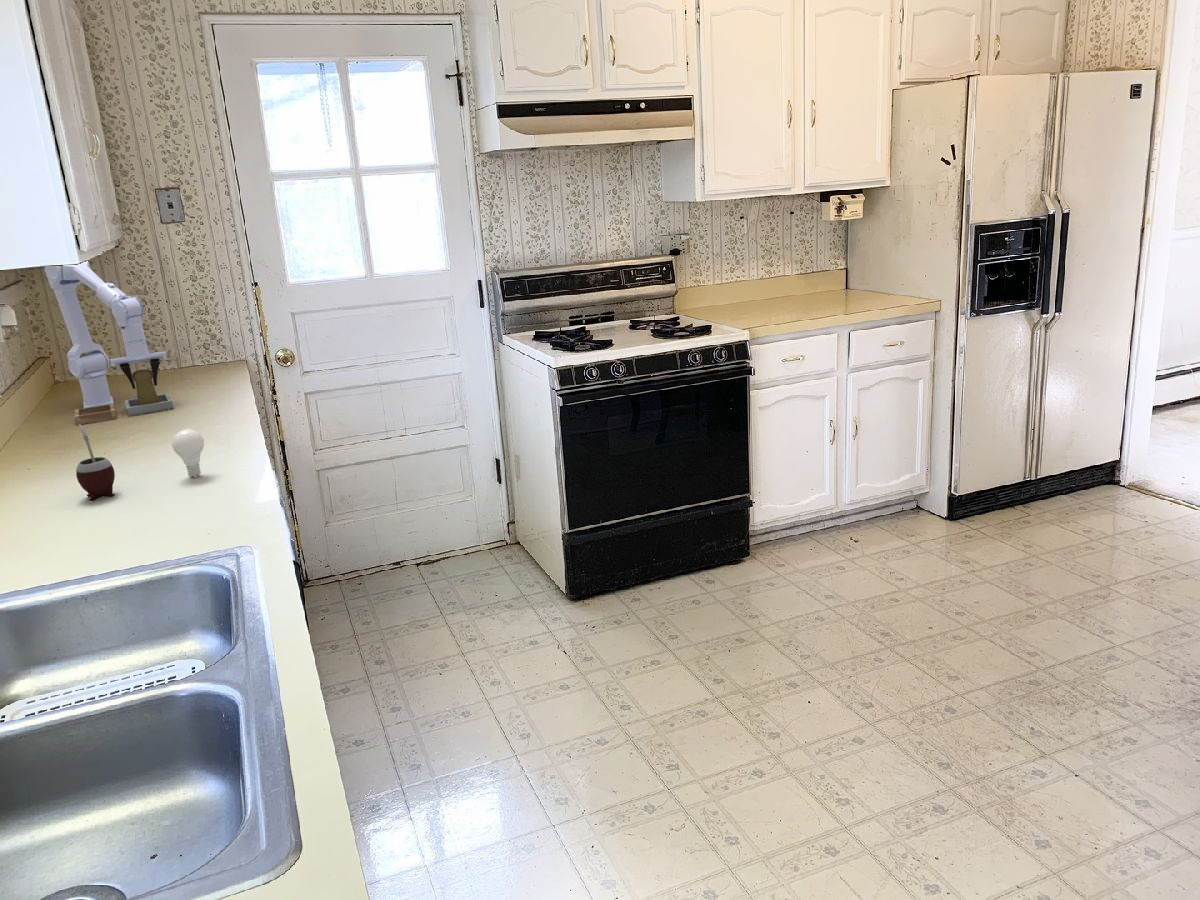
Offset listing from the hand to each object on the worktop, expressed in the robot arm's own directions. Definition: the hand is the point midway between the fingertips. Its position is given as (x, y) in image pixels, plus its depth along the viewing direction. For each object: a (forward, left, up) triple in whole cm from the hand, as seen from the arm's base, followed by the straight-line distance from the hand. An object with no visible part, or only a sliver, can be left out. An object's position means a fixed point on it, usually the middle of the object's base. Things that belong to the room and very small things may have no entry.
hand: (144, 386), depth 265 cm
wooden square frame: (+1, -14, -7) cm, 16 cm away
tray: (0, 0, -7) cm, 7 cm away
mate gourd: (+79, -15, -7) cm, 81 cm away
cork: (+1, 0, -6) cm, 6 cm away
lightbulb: (+79, +4, -7) cm, 79 cm away
